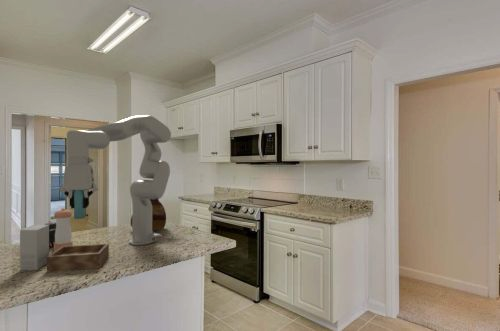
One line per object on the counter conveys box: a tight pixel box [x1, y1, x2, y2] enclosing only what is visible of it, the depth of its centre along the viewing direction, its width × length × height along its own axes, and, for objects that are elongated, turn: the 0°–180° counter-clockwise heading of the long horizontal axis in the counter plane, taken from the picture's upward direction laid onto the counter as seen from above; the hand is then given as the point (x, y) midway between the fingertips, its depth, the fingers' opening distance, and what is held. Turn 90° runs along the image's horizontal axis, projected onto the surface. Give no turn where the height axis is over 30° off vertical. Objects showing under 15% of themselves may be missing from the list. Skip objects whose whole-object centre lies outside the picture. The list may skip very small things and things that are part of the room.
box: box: [46, 243, 110, 273], centre depth 118 cm, size 18×14×6 cm
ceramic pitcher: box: [130, 199, 167, 232], centre depth 175 cm, size 20×20×30 cm
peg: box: [73, 190, 86, 220], centre depth 117 cm, size 4×4×12 cm
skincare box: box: [19, 224, 50, 271], centre depth 114 cm, size 8×7×16 cm
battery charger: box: [43, 221, 56, 249], centre depth 141 cm, size 7×4×11 cm, turn 140°
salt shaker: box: [53, 208, 74, 252], centre depth 136 cm, size 7×7×19 cm
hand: (79, 207), depth 117 cm, fingers closed on peg, 3 cm apart
